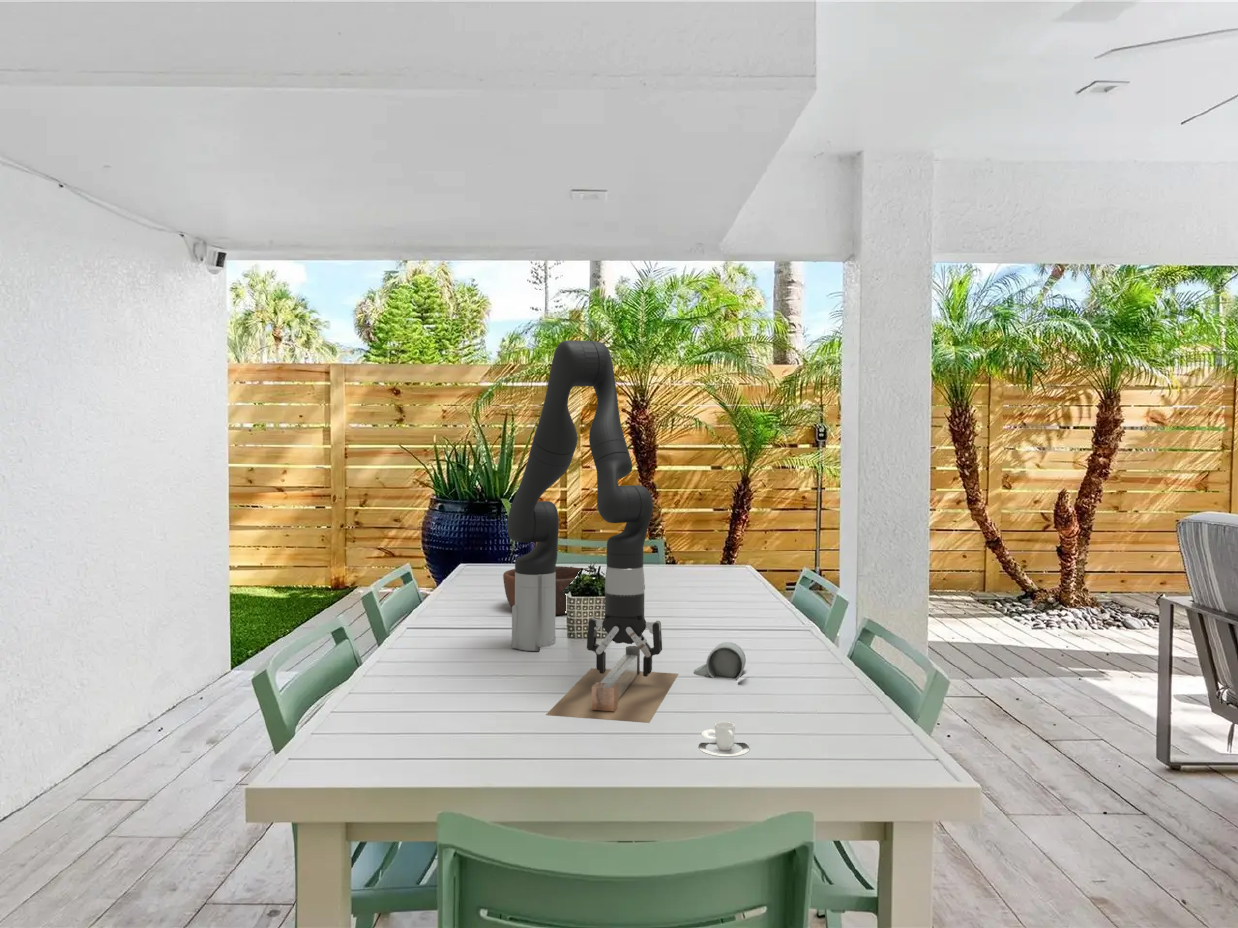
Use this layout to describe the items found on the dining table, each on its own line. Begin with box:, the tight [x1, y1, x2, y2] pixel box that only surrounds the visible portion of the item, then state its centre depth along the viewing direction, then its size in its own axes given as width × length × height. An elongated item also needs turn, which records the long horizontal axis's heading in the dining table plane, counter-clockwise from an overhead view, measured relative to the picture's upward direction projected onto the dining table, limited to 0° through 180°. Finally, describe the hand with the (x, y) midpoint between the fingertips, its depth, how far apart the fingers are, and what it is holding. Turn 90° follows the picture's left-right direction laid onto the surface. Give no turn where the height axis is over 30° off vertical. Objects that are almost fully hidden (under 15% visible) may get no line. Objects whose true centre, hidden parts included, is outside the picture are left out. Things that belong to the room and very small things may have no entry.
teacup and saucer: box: [698, 721, 751, 758], centre depth 147 cm, size 9×8×4 cm
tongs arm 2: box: [603, 655, 637, 711], centre depth 173 cm, size 24×2×4 cm, turn 167°
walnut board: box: [545, 645, 679, 724], centre depth 173 cm, size 18×32×6 cm, turn 168°
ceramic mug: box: [693, 641, 747, 681], centre depth 187 cm, size 10×8×7 cm
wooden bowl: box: [502, 565, 590, 616], centre depth 258 cm, size 25×25×10 cm
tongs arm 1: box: [592, 654, 630, 711], centre depth 173 cm, size 24×2×4 cm, turn 168°
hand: (624, 674), depth 179 cm, fingers open, 8 cm apart
